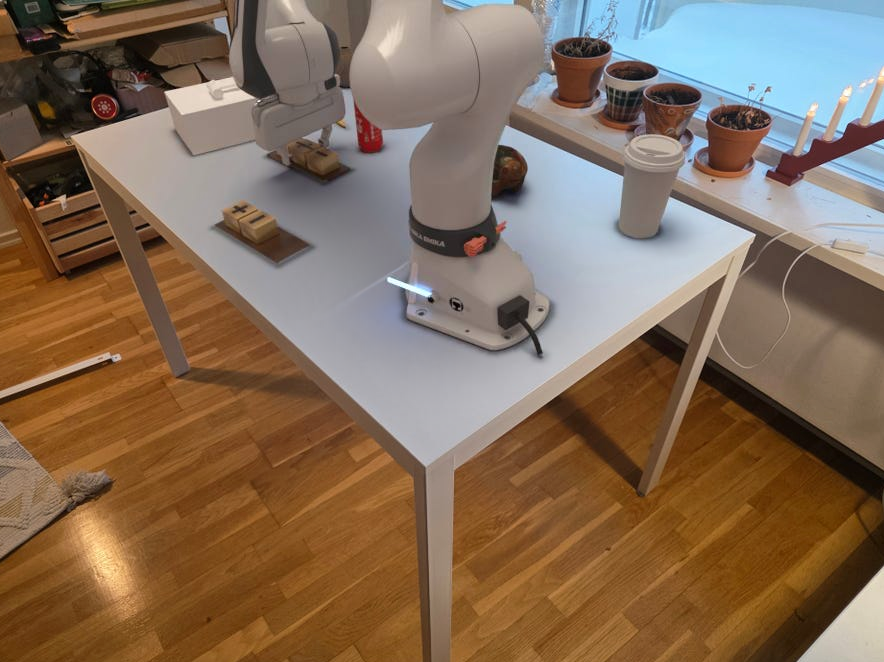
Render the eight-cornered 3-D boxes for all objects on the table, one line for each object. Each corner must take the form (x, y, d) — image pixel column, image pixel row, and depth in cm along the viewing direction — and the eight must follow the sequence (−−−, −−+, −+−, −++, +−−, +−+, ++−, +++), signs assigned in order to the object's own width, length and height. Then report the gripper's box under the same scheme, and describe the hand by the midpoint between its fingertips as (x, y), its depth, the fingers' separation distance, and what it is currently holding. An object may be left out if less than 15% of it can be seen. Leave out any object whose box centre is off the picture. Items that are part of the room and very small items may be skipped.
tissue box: (176, 130, 145) (160, 80, 137) (281, 105, 154) (272, 57, 146) (193, 155, 136) (178, 103, 128) (304, 127, 145) (296, 77, 137)
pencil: (330, 115, 148) (329, 112, 148) (348, 128, 143) (348, 125, 143) (327, 116, 148) (326, 113, 148) (345, 129, 143) (344, 126, 142)
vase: (366, 85, 161) (363, 48, 155) (341, 91, 159) (337, 54, 153) (355, 77, 166) (351, 40, 160) (330, 82, 163) (325, 46, 157)
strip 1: (310, 247, 110) (307, 228, 107) (277, 265, 106) (273, 246, 103) (247, 211, 119) (242, 193, 116) (214, 227, 115) (209, 209, 112)
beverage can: (379, 154, 134) (374, 96, 126) (355, 152, 135) (349, 94, 127) (386, 143, 138) (381, 86, 129) (362, 141, 138) (356, 84, 130)
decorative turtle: (495, 212, 116) (494, 170, 111) (461, 180, 127) (458, 140, 122) (543, 198, 118) (544, 156, 113) (506, 168, 129) (505, 128, 124)
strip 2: (350, 170, 129) (348, 153, 127) (324, 183, 126) (321, 166, 123) (293, 144, 138) (290, 128, 136) (267, 156, 135) (263, 139, 132)
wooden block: (323, 159, 131) (321, 144, 129) (306, 167, 129) (303, 152, 127) (307, 152, 134) (305, 137, 132) (290, 159, 131) (287, 145, 129)
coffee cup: (597, 227, 112) (612, 144, 102) (632, 207, 116) (649, 126, 106) (643, 250, 107) (663, 165, 96) (678, 229, 111) (700, 145, 101)
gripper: (260, 107, 114) (275, 179, 124) (346, 73, 125) (354, 142, 134) (239, 98, 117) (255, 169, 127) (324, 66, 128) (333, 134, 138)
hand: (306, 155), depth 131 cm, fingers open, 8 cm apart
